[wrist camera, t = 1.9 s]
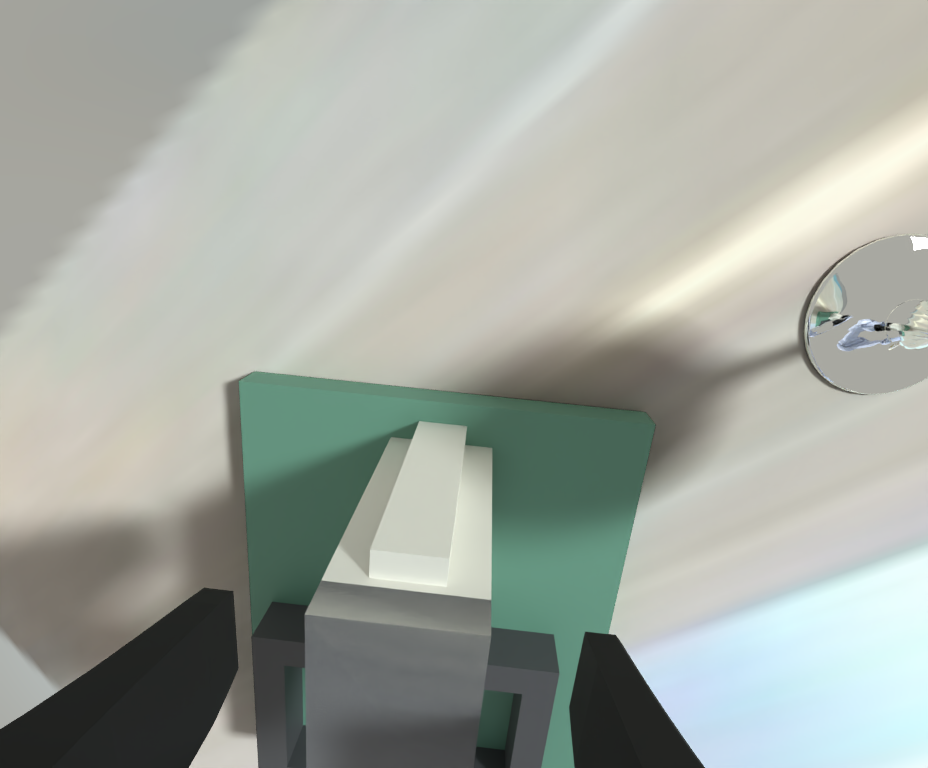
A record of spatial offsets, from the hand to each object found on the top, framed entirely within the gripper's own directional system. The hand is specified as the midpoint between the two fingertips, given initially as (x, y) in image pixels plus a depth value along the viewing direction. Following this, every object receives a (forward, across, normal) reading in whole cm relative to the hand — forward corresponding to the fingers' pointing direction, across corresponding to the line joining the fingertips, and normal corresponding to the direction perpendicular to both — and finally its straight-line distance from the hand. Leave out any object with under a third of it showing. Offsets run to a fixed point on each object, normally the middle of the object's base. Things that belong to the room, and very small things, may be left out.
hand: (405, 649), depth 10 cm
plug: (+5, 0, 0) cm, 5 cm away
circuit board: (+6, 0, +4) cm, 8 cm away
